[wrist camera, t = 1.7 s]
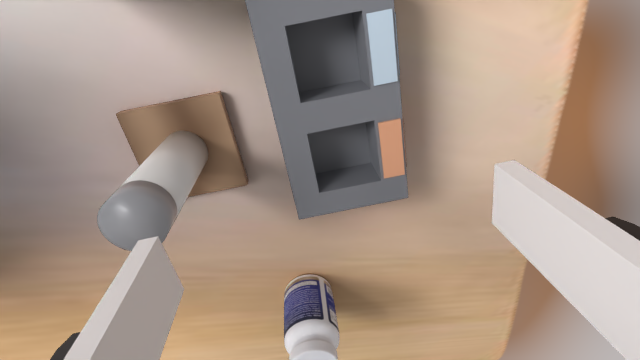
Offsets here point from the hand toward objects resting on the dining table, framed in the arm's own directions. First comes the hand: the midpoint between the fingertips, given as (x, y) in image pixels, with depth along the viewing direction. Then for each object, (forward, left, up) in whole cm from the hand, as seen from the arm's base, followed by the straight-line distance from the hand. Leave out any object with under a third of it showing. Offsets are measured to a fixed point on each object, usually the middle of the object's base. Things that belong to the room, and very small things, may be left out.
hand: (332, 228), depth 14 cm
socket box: (+2, 0, -20) cm, 20 cm away
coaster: (-12, -2, -20) cm, 23 cm away
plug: (-12, -2, -19) cm, 23 cm away
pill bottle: (-4, -22, -20) cm, 30 cm away
